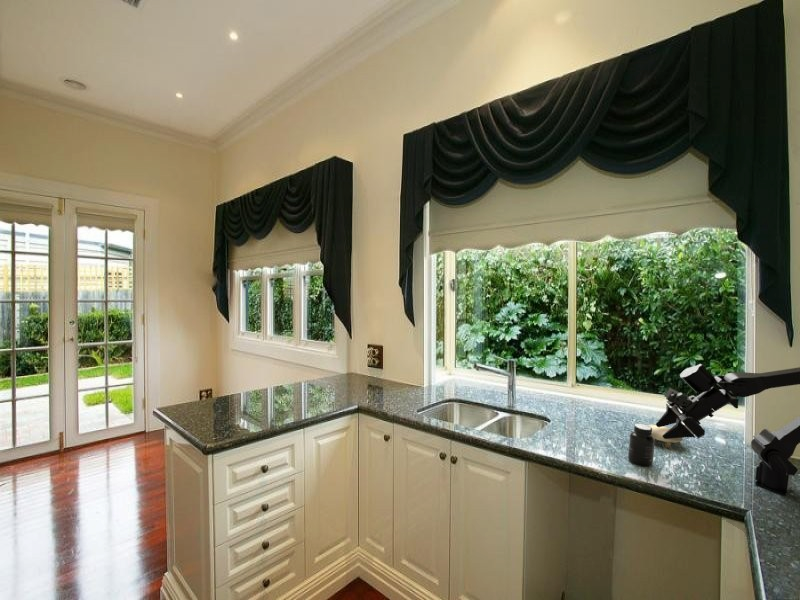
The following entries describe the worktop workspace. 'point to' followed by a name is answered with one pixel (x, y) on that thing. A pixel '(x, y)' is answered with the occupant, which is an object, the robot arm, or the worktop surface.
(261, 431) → the worktop surface
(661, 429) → the stool
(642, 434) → the supplement bottle
